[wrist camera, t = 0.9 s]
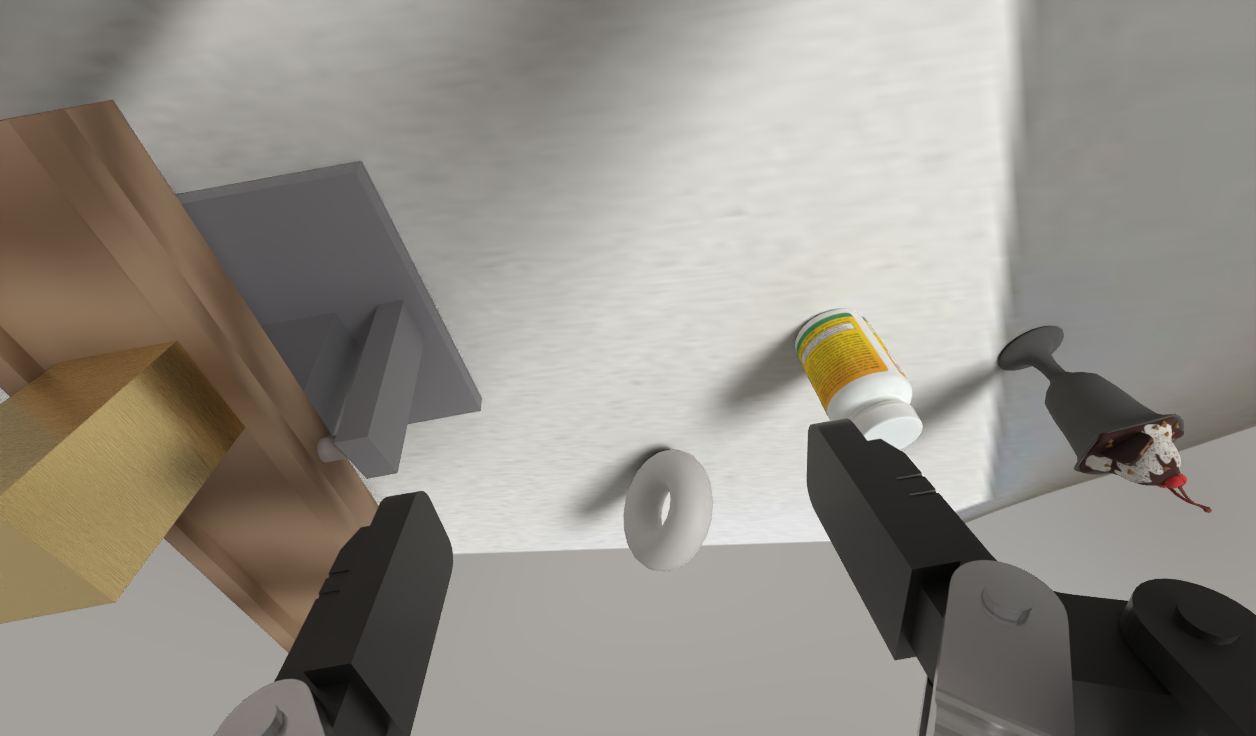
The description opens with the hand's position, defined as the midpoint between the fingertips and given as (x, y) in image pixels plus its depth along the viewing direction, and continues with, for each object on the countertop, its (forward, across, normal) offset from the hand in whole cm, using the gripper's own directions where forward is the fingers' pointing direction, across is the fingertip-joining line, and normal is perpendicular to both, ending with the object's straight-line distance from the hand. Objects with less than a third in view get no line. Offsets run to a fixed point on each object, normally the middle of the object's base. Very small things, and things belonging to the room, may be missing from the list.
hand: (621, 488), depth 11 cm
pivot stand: (+22, +19, +3) cm, 29 cm away
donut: (+28, -1, +23) cm, 37 cm away
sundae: (+27, -33, +18) cm, 46 cm away
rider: (+11, +18, +1) cm, 21 cm away
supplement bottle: (+25, -15, +12) cm, 32 cm away
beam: (+13, +18, +6) cm, 23 cm away
